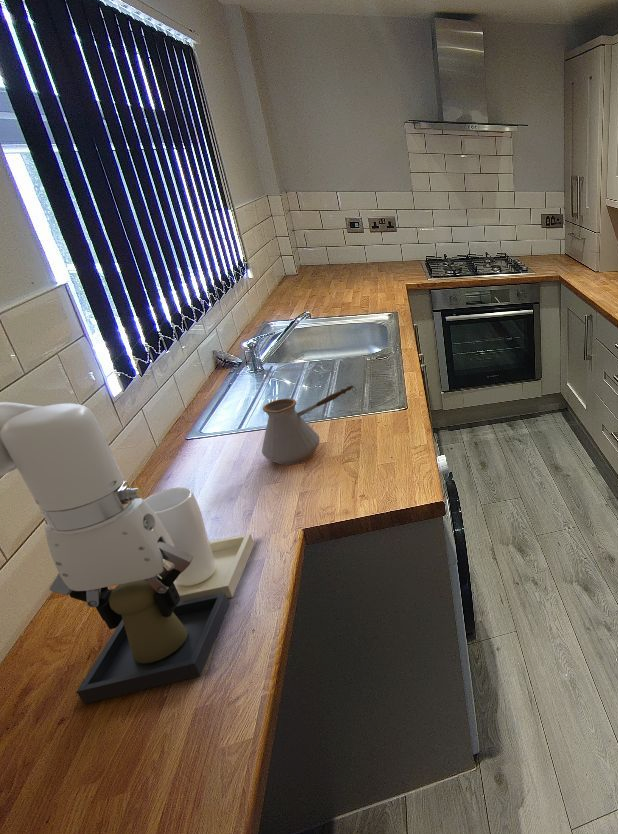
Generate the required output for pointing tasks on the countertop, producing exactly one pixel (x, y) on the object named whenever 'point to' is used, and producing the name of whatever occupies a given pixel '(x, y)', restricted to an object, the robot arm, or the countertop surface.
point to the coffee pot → (291, 430)
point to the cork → (146, 622)
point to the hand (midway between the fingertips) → (145, 613)
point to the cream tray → (221, 568)
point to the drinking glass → (185, 531)
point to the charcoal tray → (126, 676)
